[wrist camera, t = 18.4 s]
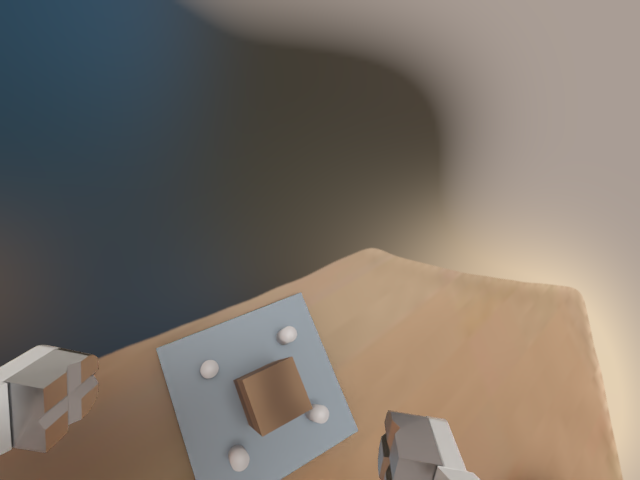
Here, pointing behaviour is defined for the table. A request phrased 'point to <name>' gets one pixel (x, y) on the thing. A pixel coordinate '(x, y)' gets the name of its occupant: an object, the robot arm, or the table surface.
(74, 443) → the table surface
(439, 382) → the table surface
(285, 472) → the peg seat
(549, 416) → the table surface
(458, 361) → the table surface
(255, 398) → the walnut block
